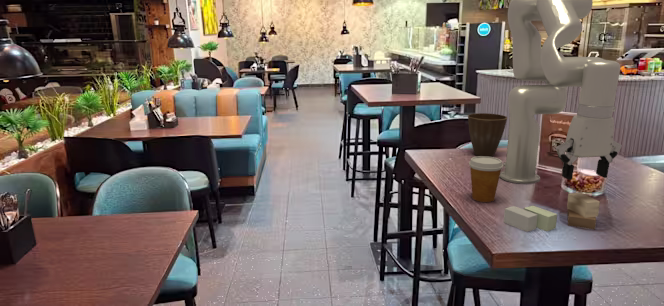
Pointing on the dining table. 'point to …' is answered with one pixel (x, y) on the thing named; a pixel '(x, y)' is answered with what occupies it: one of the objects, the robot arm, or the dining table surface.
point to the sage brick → (543, 218)
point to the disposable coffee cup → (484, 177)
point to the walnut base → (580, 220)
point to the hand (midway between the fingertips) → (584, 177)
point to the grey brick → (520, 218)
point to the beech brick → (583, 205)
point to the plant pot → (486, 132)
